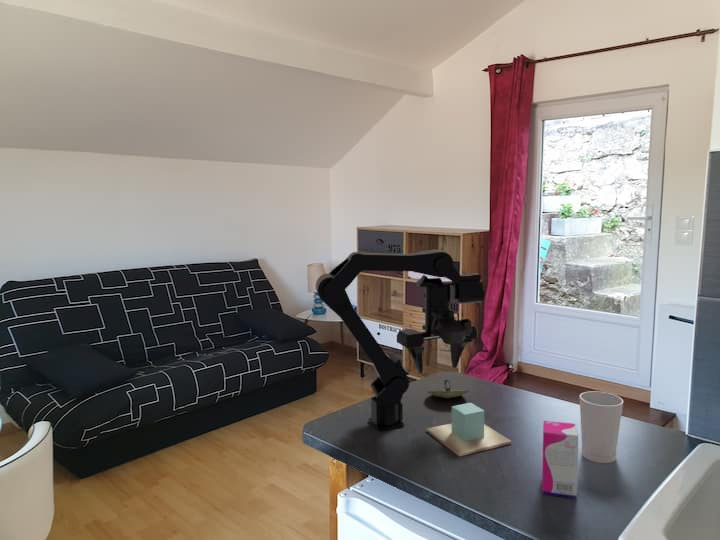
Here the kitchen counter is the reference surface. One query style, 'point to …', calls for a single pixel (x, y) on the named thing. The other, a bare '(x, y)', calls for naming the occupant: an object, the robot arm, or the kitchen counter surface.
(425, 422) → the kitchen counter surface
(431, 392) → the lid
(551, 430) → the supplement box
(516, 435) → the kitchen counter surface
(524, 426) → the kitchen counter surface
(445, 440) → the pad
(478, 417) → the teal block
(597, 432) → the cup
